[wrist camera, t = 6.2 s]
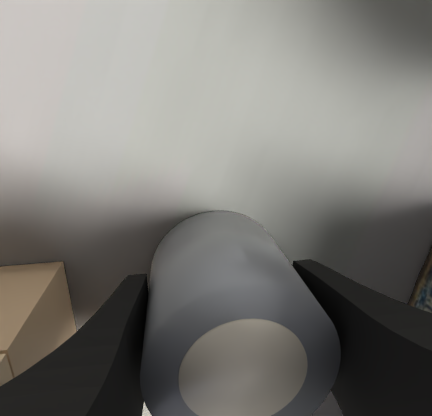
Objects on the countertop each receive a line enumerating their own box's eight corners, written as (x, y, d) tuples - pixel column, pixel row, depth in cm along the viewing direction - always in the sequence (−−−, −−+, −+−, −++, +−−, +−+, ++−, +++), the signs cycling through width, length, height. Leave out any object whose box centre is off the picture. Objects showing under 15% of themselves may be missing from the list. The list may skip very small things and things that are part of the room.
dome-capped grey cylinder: (277, 319, 14) (332, 435, 9) (156, 332, 13) (149, 463, 9) (281, 206, 12) (352, 276, 8) (144, 215, 12) (128, 298, 7)
